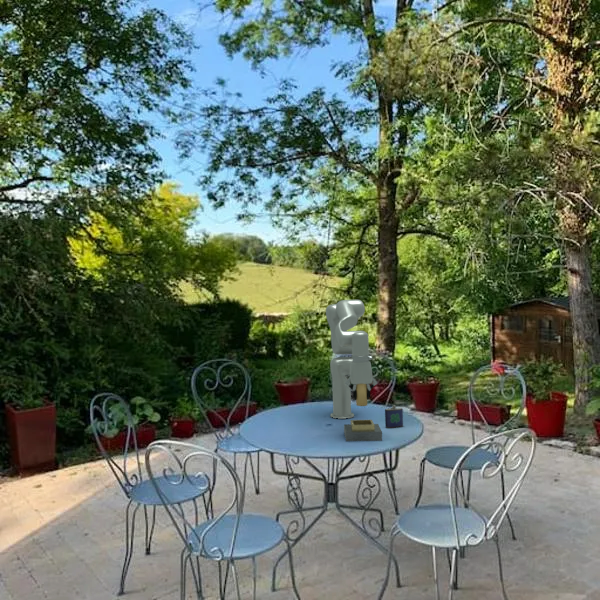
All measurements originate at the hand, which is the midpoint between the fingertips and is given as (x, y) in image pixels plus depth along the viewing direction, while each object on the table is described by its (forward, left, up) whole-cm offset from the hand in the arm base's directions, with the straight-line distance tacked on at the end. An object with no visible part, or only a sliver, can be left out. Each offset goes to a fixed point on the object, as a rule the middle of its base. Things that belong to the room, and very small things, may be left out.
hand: (361, 398), depth 243 cm
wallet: (-16, +17, -18) cm, 29 cm away
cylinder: (0, 0, -3) cm, 3 cm away
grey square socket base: (0, 0, -17) cm, 17 cm away
